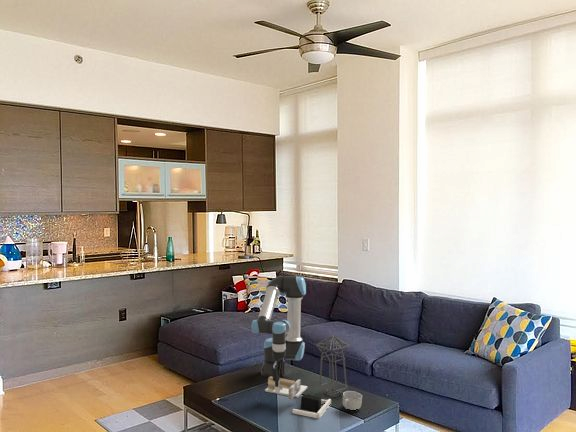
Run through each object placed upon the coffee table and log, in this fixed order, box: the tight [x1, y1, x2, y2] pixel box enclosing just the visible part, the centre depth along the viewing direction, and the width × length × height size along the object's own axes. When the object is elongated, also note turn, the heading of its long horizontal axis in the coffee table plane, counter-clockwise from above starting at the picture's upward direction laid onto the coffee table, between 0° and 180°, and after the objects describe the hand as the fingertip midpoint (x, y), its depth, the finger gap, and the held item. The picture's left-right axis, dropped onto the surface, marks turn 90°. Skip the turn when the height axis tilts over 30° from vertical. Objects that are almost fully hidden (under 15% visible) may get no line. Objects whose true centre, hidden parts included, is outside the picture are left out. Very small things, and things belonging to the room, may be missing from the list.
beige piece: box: [267, 376, 302, 400], centre depth 274 cm, size 14×17×7 cm
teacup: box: [341, 390, 363, 411], centre depth 266 cm, size 14×11×8 cm
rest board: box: [264, 384, 308, 399], centre depth 293 cm, size 16×21×1 cm
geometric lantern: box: [315, 335, 351, 397], centre depth 286 cm, size 16×16×35 cm
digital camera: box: [300, 394, 322, 413], centre depth 266 cm, size 10×5×7 cm, turn 67°
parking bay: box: [292, 398, 332, 419], centre depth 267 cm, size 19×15×3 cm
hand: (278, 390), depth 275 cm, fingers closed on beige piece, 3 cm apart
